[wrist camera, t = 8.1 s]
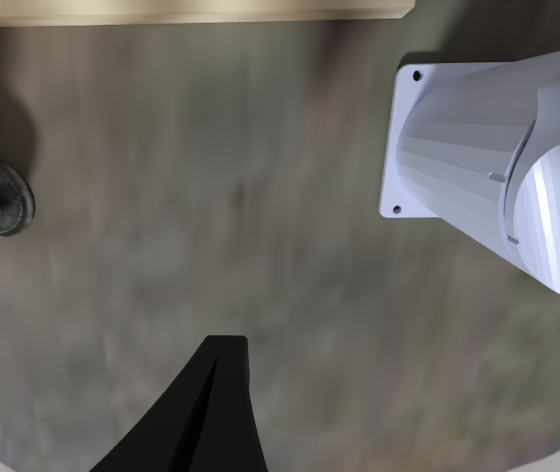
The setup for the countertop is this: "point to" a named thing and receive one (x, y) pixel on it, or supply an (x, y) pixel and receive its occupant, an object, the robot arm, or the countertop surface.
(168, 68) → the countertop surface
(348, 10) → the maple board
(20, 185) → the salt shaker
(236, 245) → the countertop surface
